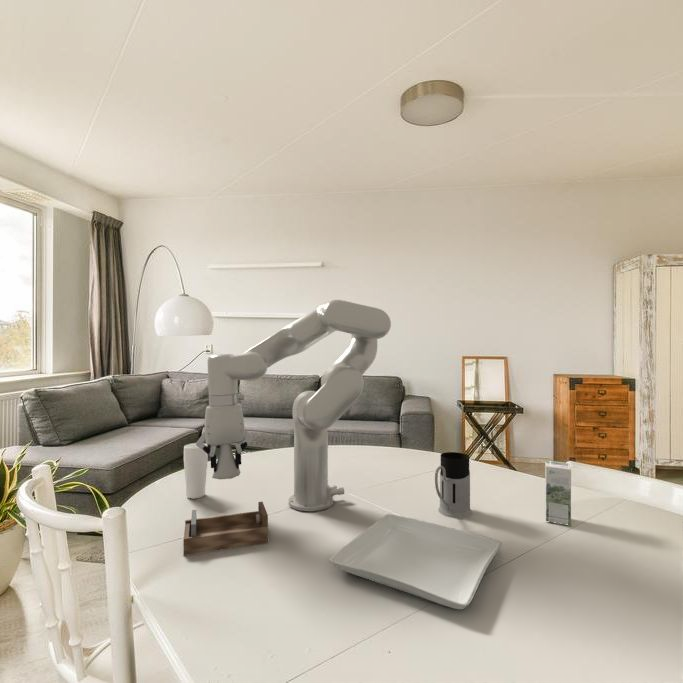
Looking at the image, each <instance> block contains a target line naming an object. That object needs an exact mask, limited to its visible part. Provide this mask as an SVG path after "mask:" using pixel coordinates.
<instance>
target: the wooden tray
mask: <svg viewBox="0 0 683 683" xmlns="http://www.w3.org/2000/svg"><path fill="white" fill-rule="evenodd" d="M257 507H258V510H256V511H250V512H249V511H248V512H240V513H232V514H223V515H216V516H206V517H199V518H196V536H194V537H191V518H190V519H186V520H184V523H185V524H184V532H183V546H182V547H183V551H182V552H183V556H191V555H196V554H203V553H210V552H216V551H222V550H223V551H225V550H230V549H231V550H232V549H237V548H245V547H250V546H252V547H253V546H259V545H263V544H269V515H268V512H267V509H266V507H265V505H264V502H263V501H259V502H258V506H257Z"/></svg>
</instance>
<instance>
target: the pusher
mask: <svg viewBox="0 0 683 683" xmlns="http://www.w3.org/2000/svg"><path fill="white" fill-rule="evenodd" d="M190 519H191V537H194V536H196V519H197V509H192V510H191V518H190Z"/></svg>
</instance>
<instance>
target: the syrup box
mask: <svg viewBox="0 0 683 683" xmlns="http://www.w3.org/2000/svg"><path fill="white" fill-rule="evenodd" d="M544 464H545V468H544V469H545V470H544V471H545V472H544V474H545V476H544V477H545V480H544V481H545V482H544V483H545V488H544V490H545V491H544V495H545V496H544V497H545V498H544V500H545V501H544V503H545V506H544V507H545V508H544V509H545V510H544V513H545V514H544V516H545V515H546V516H545V522H546V521H549V522H556V523H562V524H568V525H572V469H571V466H570V462H562V461H553V460H552V461H551V460H545V462H544Z"/></svg>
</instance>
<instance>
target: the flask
mask: <svg viewBox="0 0 683 683" xmlns="http://www.w3.org/2000/svg"><path fill="white" fill-rule="evenodd" d="M219 446H220V447H219V452H218V453H219V454H218V458H217V459H216V464H217V471H216V472H214V471H213V474H212V476H211V478H212V479H216V480H229V479H234V478H236V477H239V476H240V474H241V470H240V468H239V469H237V468H236V461H235V454H234V453H233V450H232V444H223V445H219Z"/></svg>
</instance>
